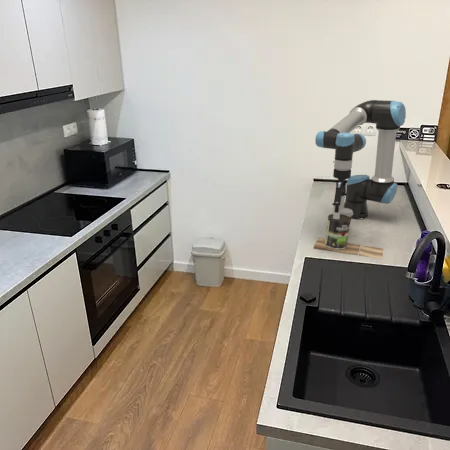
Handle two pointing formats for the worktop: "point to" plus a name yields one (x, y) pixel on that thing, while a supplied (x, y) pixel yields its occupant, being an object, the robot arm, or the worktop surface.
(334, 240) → the coffee can
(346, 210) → the disposable coffee cup
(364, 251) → the laid plank
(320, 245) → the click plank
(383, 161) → the robot arm
